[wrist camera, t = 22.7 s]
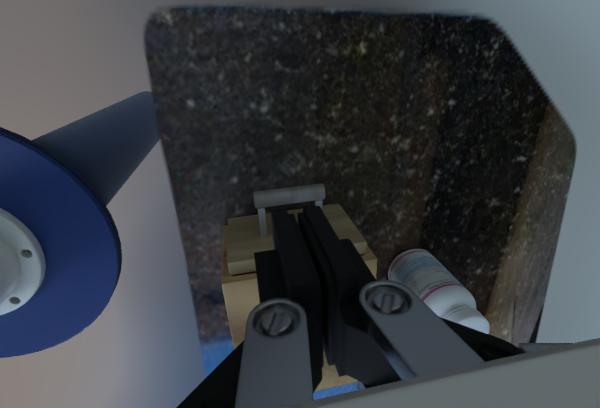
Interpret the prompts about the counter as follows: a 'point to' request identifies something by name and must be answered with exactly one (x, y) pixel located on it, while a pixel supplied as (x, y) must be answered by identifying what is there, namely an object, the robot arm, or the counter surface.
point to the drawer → (258, 228)
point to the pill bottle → (437, 288)
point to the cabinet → (245, 297)
